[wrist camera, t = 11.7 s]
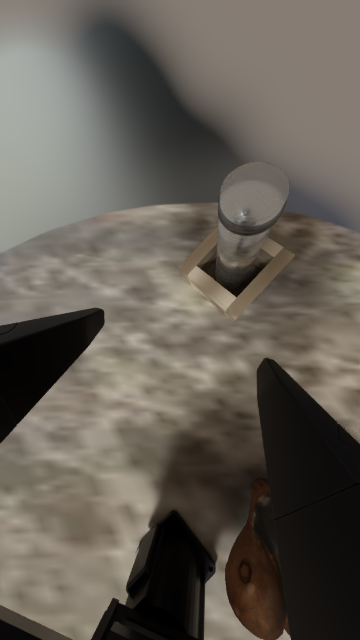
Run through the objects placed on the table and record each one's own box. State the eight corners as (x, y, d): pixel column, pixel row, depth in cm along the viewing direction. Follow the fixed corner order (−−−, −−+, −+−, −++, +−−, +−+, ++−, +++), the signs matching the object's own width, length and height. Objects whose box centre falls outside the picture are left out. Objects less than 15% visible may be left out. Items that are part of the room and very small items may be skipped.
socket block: (281, 269, 21) (295, 255, 18) (233, 321, 21) (238, 316, 18) (226, 231, 23) (229, 212, 20) (183, 278, 24) (178, 267, 20)
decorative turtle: (208, 470, 19) (213, 545, 12) (343, 446, 18) (447, 510, 11) (232, 581, 17) (258, 768, 9) (389, 560, 16) (565, 750, 8)
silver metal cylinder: (252, 282, 22) (305, 201, 10) (221, 294, 22) (235, 232, 10) (238, 255, 23) (271, 149, 11) (209, 267, 23) (208, 180, 11)
